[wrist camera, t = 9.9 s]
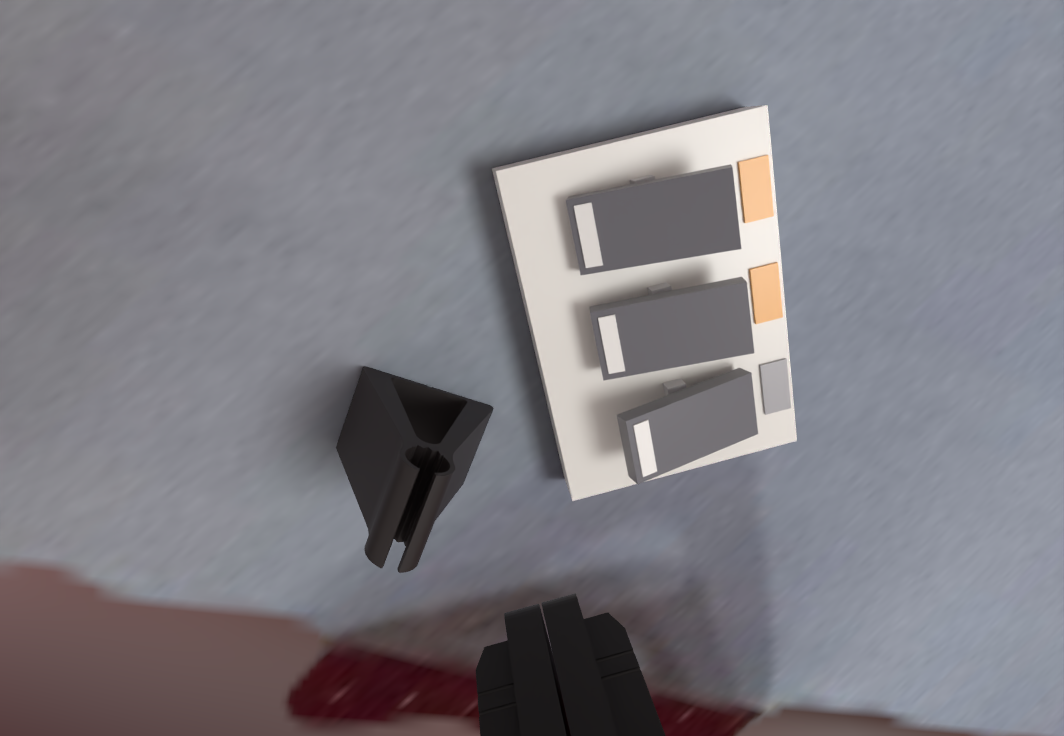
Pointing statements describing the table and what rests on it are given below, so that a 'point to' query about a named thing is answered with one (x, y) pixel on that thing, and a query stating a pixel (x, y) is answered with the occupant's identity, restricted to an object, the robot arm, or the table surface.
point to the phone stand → (406, 458)
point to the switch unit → (644, 287)
